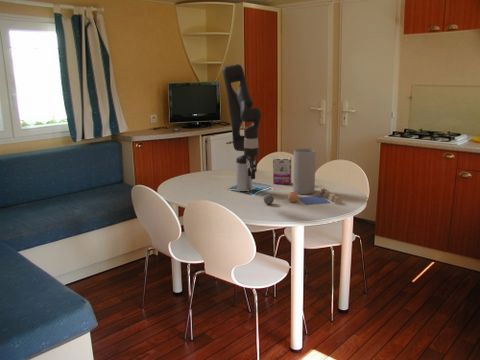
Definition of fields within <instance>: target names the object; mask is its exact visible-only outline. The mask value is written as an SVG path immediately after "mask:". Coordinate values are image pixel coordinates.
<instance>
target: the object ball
mask: <svg viewBox="0 0 480 360" xmlns="http://www.w3.org/2000/svg"><path fill="white" fill-rule="evenodd" d="M298 198H299V194H297V193H295V192H294V191H292V192H290V193H289V194H288V196H287V199H288V201H289V202H291V203H297V201H298V200H299V199H298Z"/></svg>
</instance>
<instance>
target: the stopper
mask: <svg viewBox="0 0 480 360" xmlns="http://www.w3.org/2000/svg"><path fill="white" fill-rule="evenodd" d="M320 196H322V197H323V198H325V199H326V200H328V201H329V202H330V203H331V202H332V203H333V204H334V205H339V204H340V197H339V196H338V195H335V194H334V193H332V192H331V191H329V190H327V188H320Z"/></svg>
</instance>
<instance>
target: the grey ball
mask: <svg viewBox="0 0 480 360" xmlns="http://www.w3.org/2000/svg"><path fill="white" fill-rule="evenodd" d="M274 200H275V198H274V196H273V195H272V194H271V193H268V194H267V193H266V194H265V195H264V196H263V202H264V203H265V204H266V205H271V204H272V203H274Z"/></svg>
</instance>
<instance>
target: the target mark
mask: <svg viewBox="0 0 480 360" xmlns="http://www.w3.org/2000/svg"><path fill="white" fill-rule="evenodd" d="M298 200H299V201H301V202H302V203H303V204H305V205H306V206H310V205H320V204H330V203H331V201H330V200H328V199H327V198H325V197H324V196H322V195H313V196H312V195H311V196H301V197H299V196H298Z"/></svg>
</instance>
